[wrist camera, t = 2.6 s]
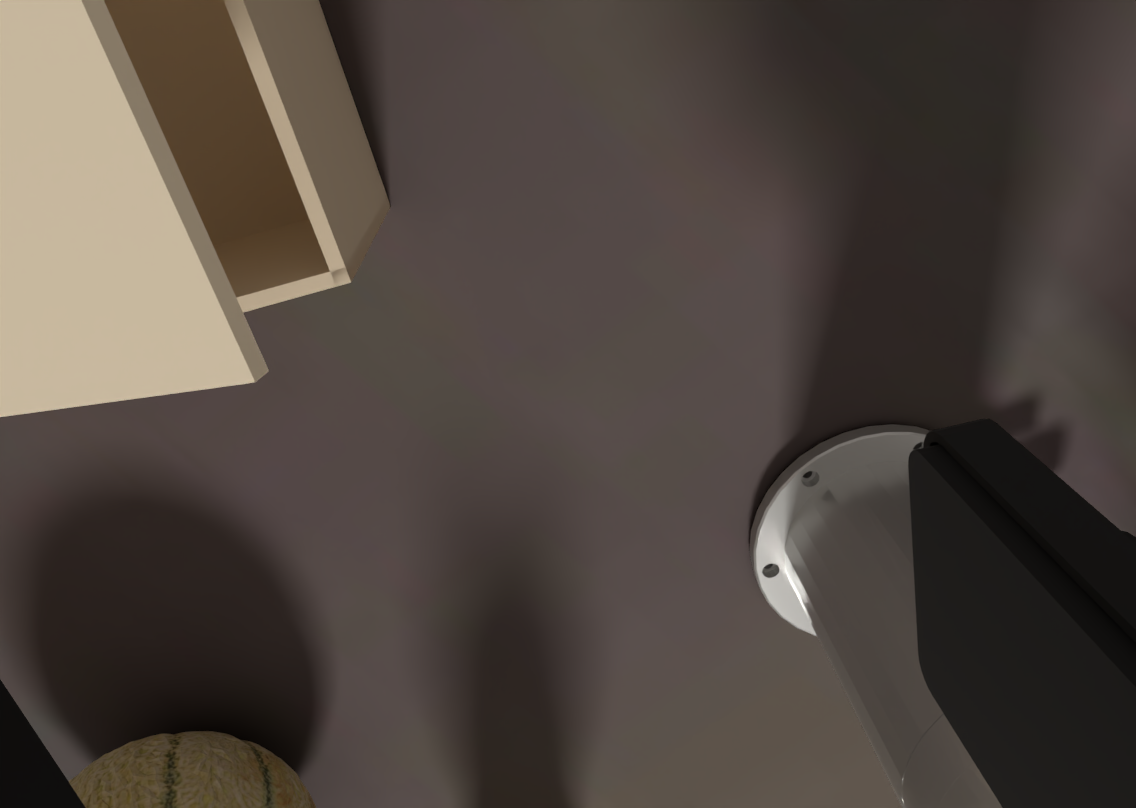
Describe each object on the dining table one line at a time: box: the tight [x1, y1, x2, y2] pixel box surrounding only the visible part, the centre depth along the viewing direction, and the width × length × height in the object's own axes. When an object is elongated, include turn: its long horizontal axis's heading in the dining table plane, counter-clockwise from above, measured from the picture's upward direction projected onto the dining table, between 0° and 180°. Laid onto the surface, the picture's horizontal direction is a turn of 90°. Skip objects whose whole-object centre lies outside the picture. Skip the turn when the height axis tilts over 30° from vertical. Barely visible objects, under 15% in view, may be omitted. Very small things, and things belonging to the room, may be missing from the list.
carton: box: [104, 0, 391, 312], centre depth 30 cm, size 18×15×11 cm
